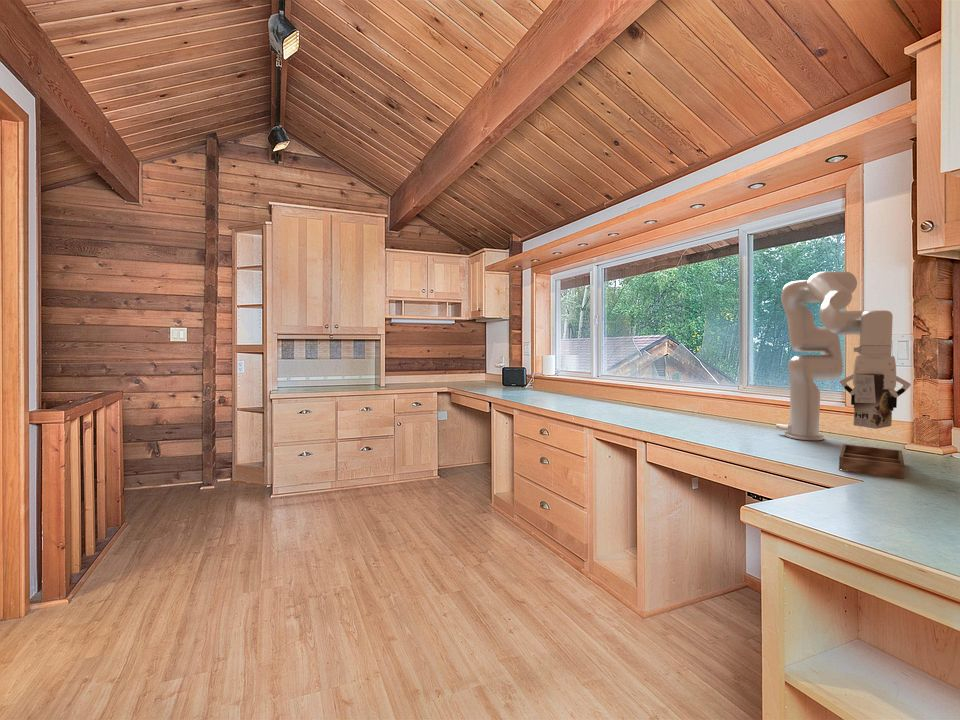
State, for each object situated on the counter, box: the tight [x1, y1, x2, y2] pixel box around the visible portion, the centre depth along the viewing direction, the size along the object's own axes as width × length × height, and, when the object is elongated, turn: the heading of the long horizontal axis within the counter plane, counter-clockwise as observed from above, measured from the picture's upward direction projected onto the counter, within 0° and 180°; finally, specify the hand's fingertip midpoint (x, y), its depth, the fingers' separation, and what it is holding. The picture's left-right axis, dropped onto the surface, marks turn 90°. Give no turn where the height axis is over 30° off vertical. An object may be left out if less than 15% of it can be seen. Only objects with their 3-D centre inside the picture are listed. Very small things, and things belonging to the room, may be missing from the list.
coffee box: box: [853, 374, 893, 429], centre depth 150 cm, size 9×6×16 cm
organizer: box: [838, 443, 905, 480], centre depth 149 cm, size 15×20×4 cm
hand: (873, 408), depth 150 cm, fingers closed on coffee box, 8 cm apart
